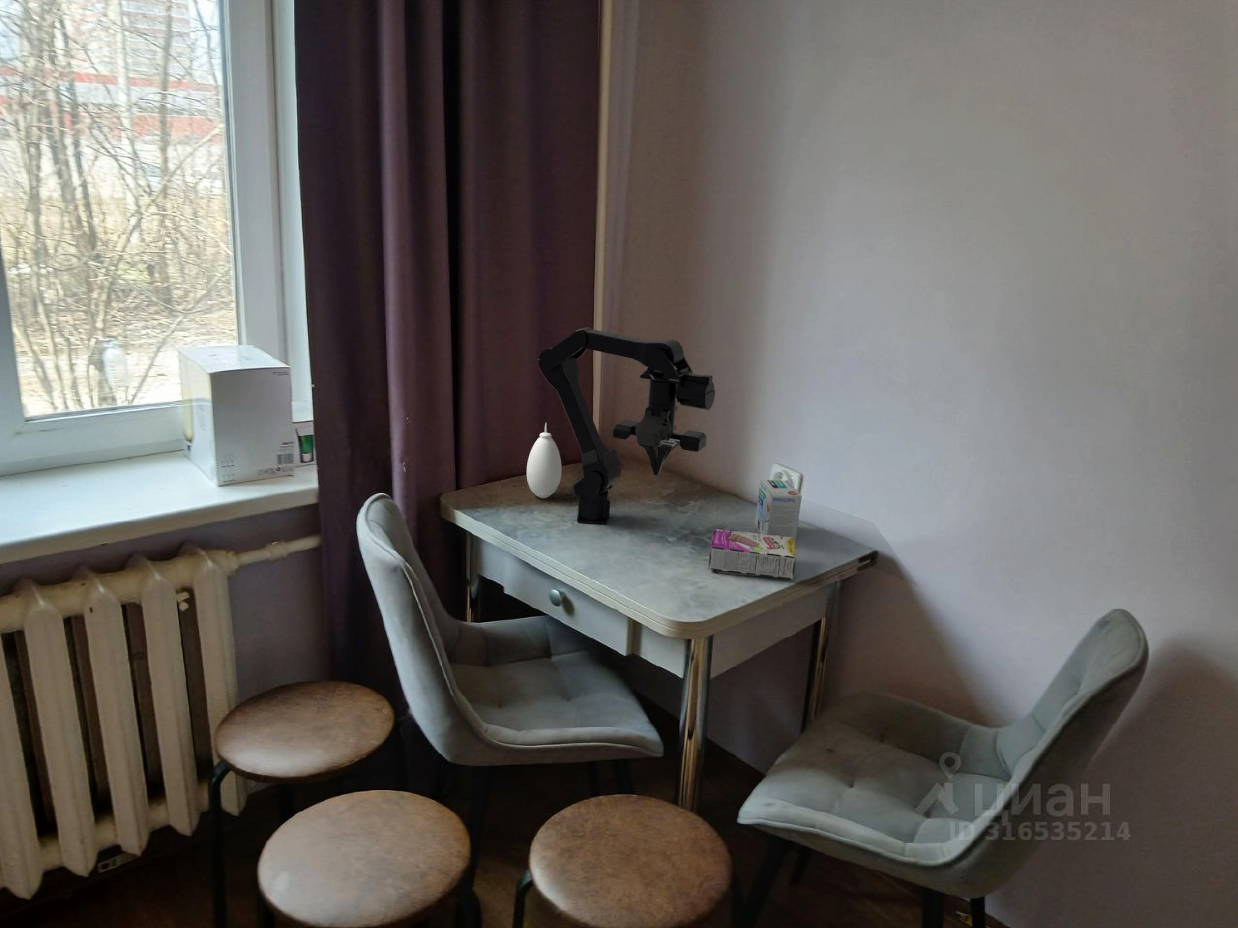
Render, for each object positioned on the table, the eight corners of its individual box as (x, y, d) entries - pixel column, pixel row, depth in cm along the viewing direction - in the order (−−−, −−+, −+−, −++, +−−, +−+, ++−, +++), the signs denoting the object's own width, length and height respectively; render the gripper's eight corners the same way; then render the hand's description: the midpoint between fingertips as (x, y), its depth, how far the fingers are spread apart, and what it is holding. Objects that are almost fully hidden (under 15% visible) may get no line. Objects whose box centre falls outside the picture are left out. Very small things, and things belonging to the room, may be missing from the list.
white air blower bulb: (566, 496, 203) (570, 422, 198) (546, 505, 197) (549, 428, 192) (540, 489, 207) (542, 416, 202) (519, 497, 201) (521, 422, 196)
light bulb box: (754, 524, 194) (759, 478, 191) (783, 525, 195) (789, 479, 191) (765, 542, 184) (771, 495, 181) (796, 543, 184) (803, 496, 181)
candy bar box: (713, 526, 176) (795, 536, 174) (710, 548, 178) (791, 559, 176) (710, 546, 166) (797, 557, 164) (707, 570, 167) (794, 581, 165)
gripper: (604, 403, 173) (600, 477, 177) (693, 417, 166) (686, 493, 171) (625, 393, 183) (621, 463, 187) (710, 405, 176) (703, 478, 181)
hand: (656, 474), depth 181 cm, fingers closed
